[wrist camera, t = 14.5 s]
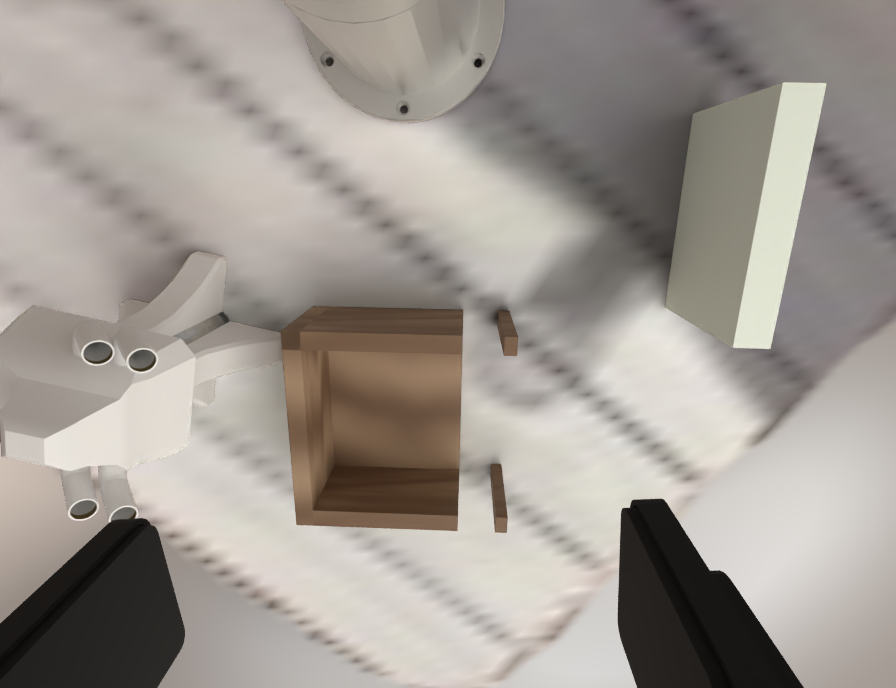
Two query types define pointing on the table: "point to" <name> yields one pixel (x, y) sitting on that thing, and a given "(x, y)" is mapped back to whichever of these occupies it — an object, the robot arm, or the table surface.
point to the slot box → (380, 416)
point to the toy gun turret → (120, 382)
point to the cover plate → (742, 211)
